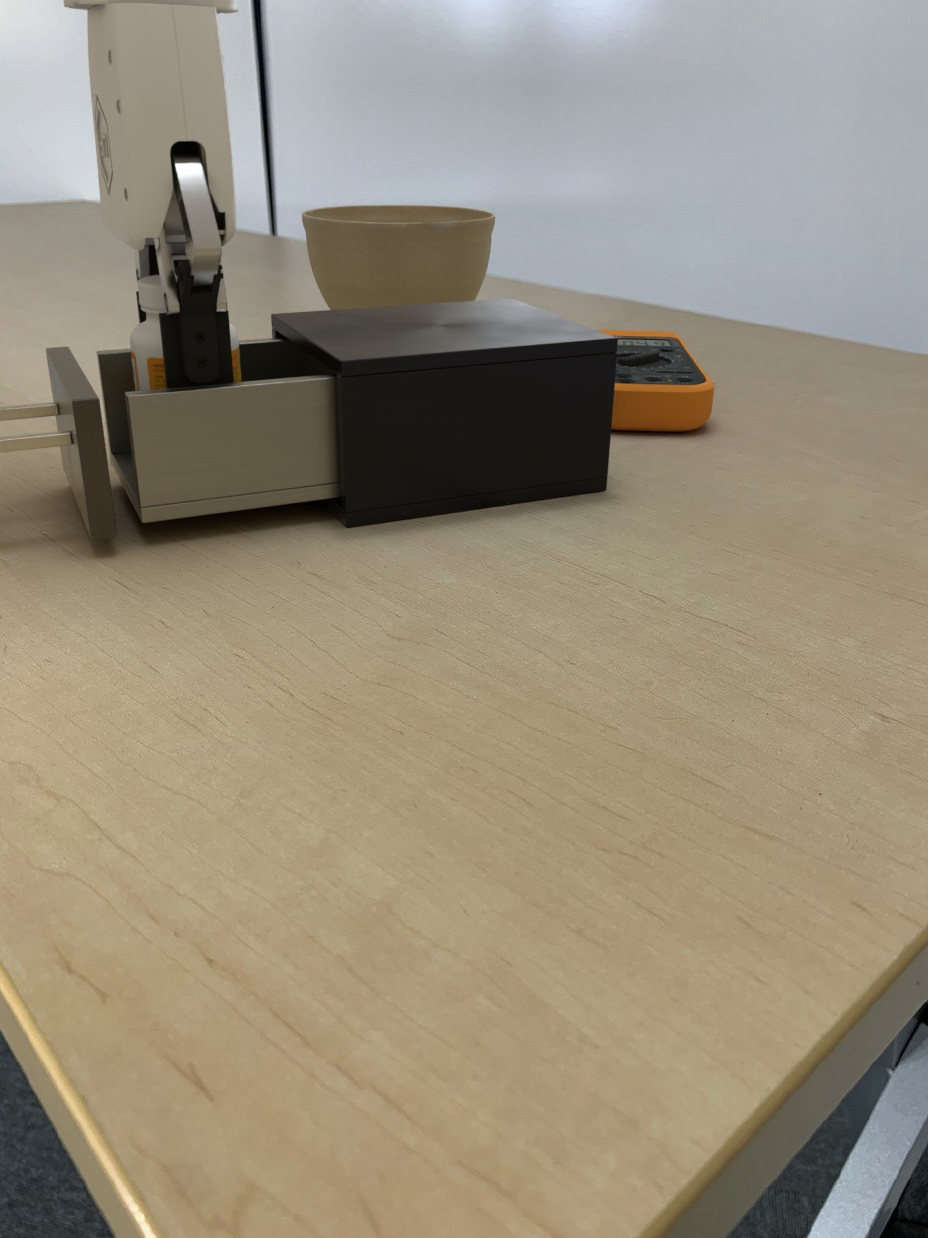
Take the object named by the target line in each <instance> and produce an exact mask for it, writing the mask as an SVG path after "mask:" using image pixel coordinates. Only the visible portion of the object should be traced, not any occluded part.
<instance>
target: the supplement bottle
mask: <svg viewBox="0 0 928 1238" xmlns="http://www.w3.org/2000/svg"><path fill="white" fill-rule="evenodd" d="M175 276H176V274H175ZM176 282H177V276H176ZM137 288H138V289H137V291H138V292H139V304H140V305H141V310H142V311H144V312H146V316H147V318H146V321H144V322H142V323H138V324H137V325H136V326H135V327H134V328H133V329H132V330H131V332H130V337H129V338H130V339H129V346H130V347H129V348H131V357H132V366H133V373H134V382H135V391H144V390H155V389H166V379H165V370H164V360H163V351H162V341H161V332H160V322H159V313H166V311H165V306H164V300H163V293H162V287H161V280H160V275H154V276H148V277H144V278H141V279H139V280H138V284H137ZM229 326H230V338H231V351H232V364H233V377H234V383H235V382H242V378H241V366H240V351H239V341H240V340H239V335H238V332H237V330H236V328H235V327H234V325H233V324H231V322H229Z"/></svg>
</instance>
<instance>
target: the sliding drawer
mask: <svg viewBox="0 0 928 1238" xmlns="http://www.w3.org/2000/svg"><path fill="white" fill-rule="evenodd" d="M238 341H239V351H240V366H241V378H242V382H235V383H224V384H212V385H201V386H190V387H178V388H167V389H155V390H144V391H135V382H134V373H133V366H132V357H131V347H129V348H117V349H104V350H96V358H97V365H98V366H97V367H98V373H99V374H98V375H99V381H100V389H101V395H102V396H101V397H102V405H103V413H104V420H105V427H106V436H107V442H108V450H109V451H108V452H109V458H110V464H111V466H112V467H113V469H114V472H115V474H116V475H117V477H118V479H119V481H120V483H121V485H122V487H123V489H124V491H125V493H126V495H127V497H128V498H129V500H130V503H131V504H132V507H133V508H134V510H135V512H136V513H137V516H138V517H139V520H140V522H141V523H142V524H147V523H156V522H162V521H171V520H177V519H186V518H192V517H193V518H194V517H199V516H207V515H208V516H209V515H214V514H223V513H230V512H237V511H245V510H254V509H261V508H268V507H276V506H283V505H292V504H299V503H307V502H313V501H321V500H322V499H330V498H337V497H341V482H340V452H339V422H338V393H337V373H336V372H335V371H333V370H332V369H330V368H329V367H327V366H326V365H325V364H323V363H322V362H320V361H319V360H318V359H316V358H315V357H313V356H312V355H310V354H309V353H308V352H306V351H305V350H303V349H302V348H301V347H299V346H298V345H296V344H295V343H293V342H292V341H291V340H289V339H288V338H286V337H281V338H272V337H268V338H255V339H243V340H242V339H241V340H240V339H239V340H238ZM45 355H46V361H47V368H48V375H49V382H50V388H51V395H52V402H40V403H39V402H38V403H29V404H17V405H5V406H0V422H4V421H14V420H25V419H36V418H46V417H47V418H48V417H55V422H56V429H57V431H47V432H37V433H28V434H26V433H25V434H17V435H7V436H0V453H7V452H8V453H9V452H17V451H29V450H37V449H48V448H57V447H59V449H60V456H61V462H62V463H61V464H62V469H63V473H64V474H65V477H66V479H67V481H68V485H69V487H70V490H71V492H72V495H73V497H74V500H75V502H76V505H77V507H78V510H79V513H80V515H81V517H82V520H83V522H84V525H85V527H86V530H87V533H88V536H89V538H90V540H91V541H92V542H93V541H94V542H95V541H102V540H110V539H115V538H117V537H118V530H117V524H116V517H115V509H114V501H113V494H112V485H111V478H110V471H109V462H108V454H107V446H106V438H105V431H104V424H103V423H104V422H103V417H102V415H103V414H102V408H101V401H100V398H99V396H98V394H97V393H96V391H95V389H94V387H93V386H92V384H91V383H90V381H89V379H88V378H87V376H86V374H85V373H84V370H83V369H82V367H81V366H80V364H79V362H78V361H77V359H76V357H75V355H74V354H73V352H72V350H71V349H70V347H69V346H55V347H54V346H53V347H46V348H45Z"/></svg>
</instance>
